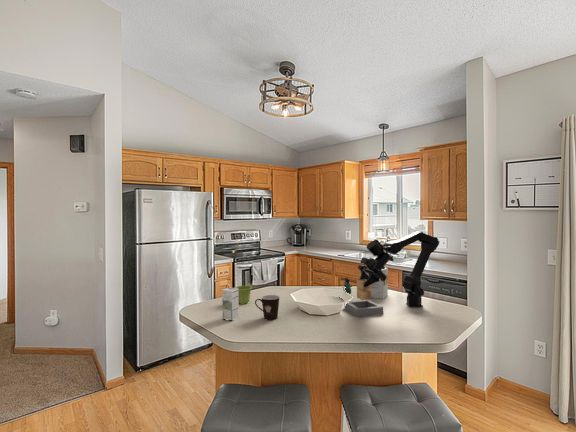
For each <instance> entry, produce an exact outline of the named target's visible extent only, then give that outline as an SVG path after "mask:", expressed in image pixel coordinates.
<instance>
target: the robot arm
mask: <svg viewBox="0 0 576 432" xmlns="http://www.w3.org/2000/svg"><path fill="white" fill-rule="evenodd" d="M417 241H418V242H419V243H420V249H421V250H420V253H419V255H418V257H417V259H416V262H415V264H414V267H413V269H412V270H411V273H410V274H409V275H407V274H406V275H405V276H404V279H403V281H402V282H403V283H402V287H403V289H404V291H405V293H407V296H406V303H405V304H406V305H408V307H411V308H422V307H424V305H422V296H424V295H425V290H424V289H423V288H422V287H421V285H422V280H421V277H422V275H423V272H424V270H425V268H426V266H427V263H428V260H429V259H430V256H431V255H432V253H434V252H435V251H436V250H437V248H438V247H439V246H440V245H439V244H440V240H439V238H438V237H436V236H432V235H429V234H427V233H425V232H423V231H414V232H413V233H410V234H408V235H405V236H404V237H402V238H400V239H398V240H391V241H386V242H385V243H384V244H382V243H380V241H379V240H378V239H374V240H372V241H370V242H368V244H367V245H366V249H367V250H368V251H369V252H370V253H371V254H372V256H374V257H375V258H374V257H373V258H372V257H369V258H367V257H363V256H362V258H361V259H360V264H359V265H358V266H357V269H358V270H359V271H360V277H359V279H358V280H361V279H366V280H367V281H366V282H365V284H364V287H367V286H369V285H371V284H373V283H376V282H378V281H380V280H381V281H385V280H386V275H385V274H384V273H383V272H382V271H381V270H382V269H385V268H386V267H385V266H386V264H387V263H389V261H390V262H394V256H392V255H397V254H398V253H400V252H401V251H402V249H403V248H405V247H407V246H409V245H411V244H414V243H416V242H417ZM391 254H392V255H391ZM368 275H369V276H368ZM379 279H380V280H379Z"/></svg>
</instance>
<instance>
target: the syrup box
mask: <svg viewBox="0 0 576 432" xmlns="http://www.w3.org/2000/svg"><path fill="white" fill-rule="evenodd" d="M221 294H222V320H223V319H228V320H234V319H236V318H238V317H240V312H239V310H240V308H239V307H240V306H239V301H238V288H235V287H226V288H224V289H223V288H222V289H221ZM238 319H239V318H238ZM228 320H227V321H228ZM236 320H237V319H236ZM234 321H235V320H234Z"/></svg>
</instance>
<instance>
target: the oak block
mask: <svg viewBox="0 0 576 432" xmlns="http://www.w3.org/2000/svg"><path fill="white" fill-rule="evenodd" d="M366 281H367V280H366V279H361V280H359V279H356V298H357V299H358V300H372V297H371V285H369V286H367V287H364V284H365V282H366Z"/></svg>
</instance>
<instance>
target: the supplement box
mask: <svg viewBox="0 0 576 432" xmlns="http://www.w3.org/2000/svg"><path fill="white" fill-rule="evenodd" d="M381 271H382V272H383V273H384V274H385V275H386V280H385V281H381V280H380V279H379V280H380V281H378V282H376V283H373V284H371V298H375V299H381V300H384V299H385V298H387V297H388V296H389V295H388V293H389V292H388V291H389V289H388V288H389V287H388V286H389V285H388V283H389V282H388V280H389V278H388V274H389V272H388V271H389V270H388V267H385V269H382V270H381ZM368 276H369V275H368Z"/></svg>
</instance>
